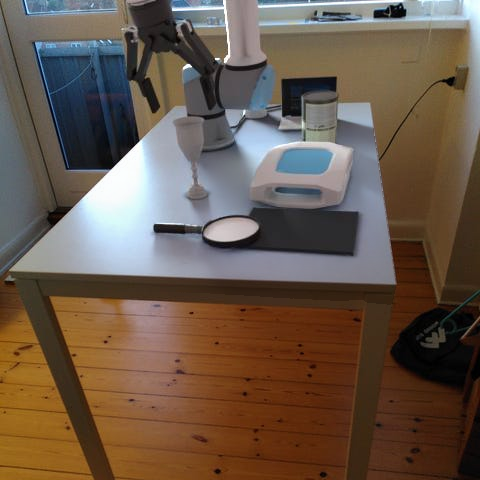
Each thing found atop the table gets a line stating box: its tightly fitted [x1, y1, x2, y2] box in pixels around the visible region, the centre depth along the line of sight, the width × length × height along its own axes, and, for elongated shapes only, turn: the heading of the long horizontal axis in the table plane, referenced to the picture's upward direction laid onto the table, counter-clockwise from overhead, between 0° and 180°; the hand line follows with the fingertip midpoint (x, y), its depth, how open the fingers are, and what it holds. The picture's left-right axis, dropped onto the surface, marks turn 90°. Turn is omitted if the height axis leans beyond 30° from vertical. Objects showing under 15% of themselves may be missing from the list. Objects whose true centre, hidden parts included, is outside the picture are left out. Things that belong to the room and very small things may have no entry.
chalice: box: [172, 116, 208, 200], centre depth 123 cm, size 7×7×18 cm
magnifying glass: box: [152, 214, 261, 250], centre depth 110 cm, size 12×24×2 cm, turn 73°
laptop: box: [278, 75, 338, 131], centre depth 164 cm, size 18×12×13 cm
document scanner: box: [249, 140, 354, 210], centre depth 127 cm, size 21×28×6 cm
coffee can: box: [301, 90, 340, 144], centre depth 147 cm, size 10×10×14 cm
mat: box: [234, 206, 360, 257], centre depth 110 cm, size 18×24×1 cm
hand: (183, 108), depth 108 cm, fingers open, 13 cm apart
